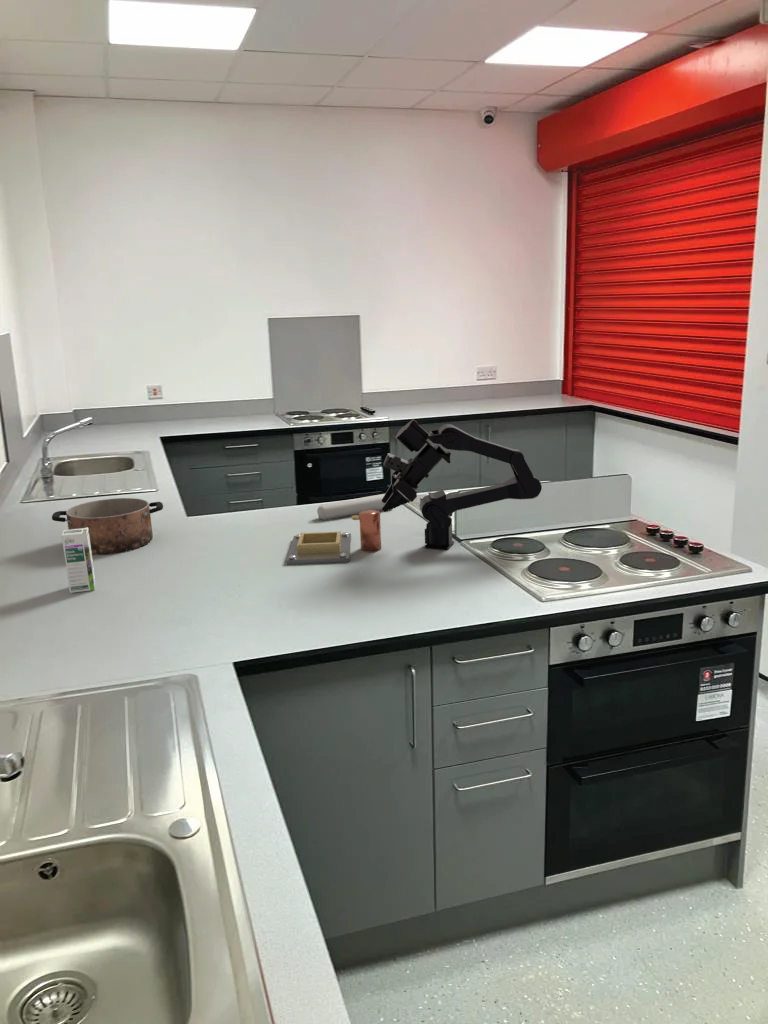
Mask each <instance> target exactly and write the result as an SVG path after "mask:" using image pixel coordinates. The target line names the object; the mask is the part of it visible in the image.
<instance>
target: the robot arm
mask: <svg viewBox="0 0 768 1024" xmlns="http://www.w3.org/2000/svg"><path fill="white" fill-rule="evenodd" d="M394 438H395V439H396V440H397V441H398V442H399V443H400V444H402V446H404V447H405V449H407V450H408V451H409V452H410V453H412V452H416V455H415V456H414V457H410V458H409V459H408V460H406V459H404V458H402V457H401V456H398V455H396V454H393V453H390V452H388V453H386V454H387V455H386V456H385V459H384V461H383V463H382V464H383V465H382V466H383V467H384V468H386V469H390V470H392V474H391V475H390V476H391V483H390V485H389V486H388V489H387V490H386V492H385V493H384V494H385V495H384V497H383V499H382V502H383V503H385V505H384V506H383V508H382V510H381V511H382V512H384V513H385V512H388V511H391V510H394V509H395V508H398V507H401V506H403V505H406V504H409V503H413V502H414V501H415V499H417V498H418V494H417V489H418V488H419V485H420V484H421V483H422V482H423V480H424V479H428V477H429V476H430V473H431V472H432V471H433V470H434V469H435V468H436V467H437V466H438V465H439V464H440V463H441V462H442V461H443V460H444V461H445V462H446V463H447V464H451V455H452V454H451V451H460V452H461V451H462V452H471V453H475V454H478V455H481V456H483V457H484V456H485V457H488V458H489V459H490V458H491V459H493V460H497V461H499V462H503V463H507V464H509V466H510V468H511V471H512V473H513V475H514V476H512V477H511V478H509V479H507V480H506V481H505V482H502V483H498V484H494V485H489V486H485V487H481V488H477V489H476V488H475V489H472V490H467V491H463V492H459V493H455V494H447V493H446V492H445V490H444V489H439V490H438V491H435V492H432V491H431V492H428V493H427V494H426V495H425V496H423V497H422V499H421V500H420V502H419V510H420V513H421V514H422V517H423V518H424V520H427V521H428V522H427V523H426V525H425V526H426V528H424V544H425V545H424V548H426V549H437V550H449V548H451V547H452V546H453V545H454V544H455V541H454V540H453V519H452V517H451V515H452V514H453V513H456V512H457V511H460V510H465V509H469V508H473V507H478V506H483V505H487V504H491V503H495V502H499V501H503V500H532V499H536V498H538V497H539V496H540V494H541V491H542V486H543V485H542V482H541V481H540V480H539V479H538V478H537V477H536V476H535V475H534V474H533V472H532V470H531V468H530V467H529V465H528V463H527V461H526V459H525V456H524V454H523V452H521V451H520V450H519V449H516V448H511V447H508V446H505V445H501V444H498V443H495V442H492V441H489V440H485V439H483V438H480V437H476V436H473V435H471V434H470V433H468V432H466V431H464V430H462V429H460V428H459V427H457V426H455V425H453V424H450V423H446V424H443V425H441V426H440V427H439V428H437V429H433V430H425V429H424V428H423V427H422V426H420V424H419V423H418V422H417V420H415V419H414V418H413V419H411V420H410V421H409V422H408V423H406V424H405V425H404V426H402V427H401V428H400V429H399V431H398V432H397V433H396V435H394ZM431 442H432V443H431ZM433 444H434V445H433ZM442 447H443V448H444V449H446V450H448V451H445V450H444V449H443V448H442ZM449 450H451V451H449Z"/></svg>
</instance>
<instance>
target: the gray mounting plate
mask: <svg viewBox="0 0 768 1024" xmlns="http://www.w3.org/2000/svg"><path fill="white" fill-rule="evenodd" d="M351 541H352V533H349V532H348V531H347V532H342V531H321V532H319V531H318V532H301V533H300V534H299V533H298V534H296V535H294V536H293V537H292V541H291V544H290V546H289V550H288V553H287V556H286V559H285V564H286V565H287V566H289V565H290V566H291V565H313V564H314V565H315V564H316V565H317V564H318V565H319V564H337V563H339V564H340V563H350V555H351Z"/></svg>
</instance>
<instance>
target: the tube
mask: <svg viewBox="0 0 768 1024" xmlns="http://www.w3.org/2000/svg"><path fill="white" fill-rule="evenodd" d="M384 495H385V493H381V494H376V495H369V496H364V497H363V496H362V497H359V498H353V499H352V498H351V499H347V500H346V499H345V500H339V501H335V502H334V501H333V502H328V503H322V504H320V505H319V506H318V508H317V510H316V512H317V516H318V519H321V520H323V521H327V520H332V519H333V520H335V519H339V518H344V517H345V518H346V517H352V516H354V515H359V513H360V512H361V511H365V510H376V511H379V512H381V511H383V510H382V508H383V506H384V505H385V503H383V502H382V499H383V497H384Z"/></svg>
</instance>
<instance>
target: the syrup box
mask: <svg viewBox="0 0 768 1024" xmlns="http://www.w3.org/2000/svg"><path fill="white" fill-rule="evenodd" d="M61 541H62V548H63V549H62V550H63V555H64V561H65V568H66V574H67V575H66V576H67V581H68V590H69V594H75V593H81V592H89V591H90V592H92V591H95V588H96V578H95V569H94V561H93V555H92V552H91V545H90V537H89V530H88V527H87V528H81V529H71V530H68V529H64V530H63V531H62V534H61Z"/></svg>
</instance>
